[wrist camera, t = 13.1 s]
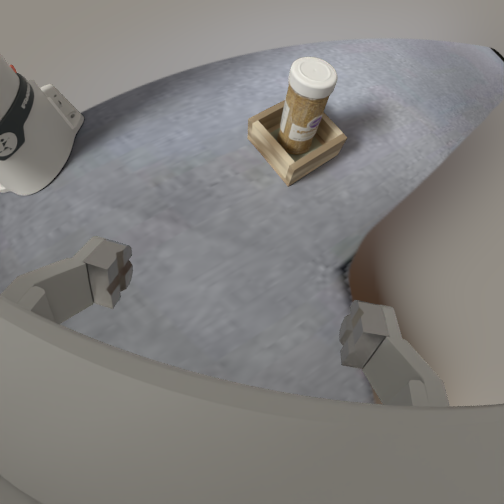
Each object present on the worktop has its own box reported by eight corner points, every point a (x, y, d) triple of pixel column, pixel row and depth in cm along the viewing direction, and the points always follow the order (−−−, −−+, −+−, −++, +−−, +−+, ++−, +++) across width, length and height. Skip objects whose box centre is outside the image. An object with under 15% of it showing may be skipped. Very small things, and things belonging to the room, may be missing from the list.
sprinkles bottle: (299, 162, 37) (324, 94, 24) (269, 142, 37) (281, 70, 24) (317, 139, 38) (346, 71, 25) (289, 121, 38) (306, 49, 25)
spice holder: (247, 138, 39) (248, 118, 34) (297, 111, 40) (302, 91, 36) (288, 186, 38) (293, 170, 33) (337, 154, 39) (347, 137, 34)
